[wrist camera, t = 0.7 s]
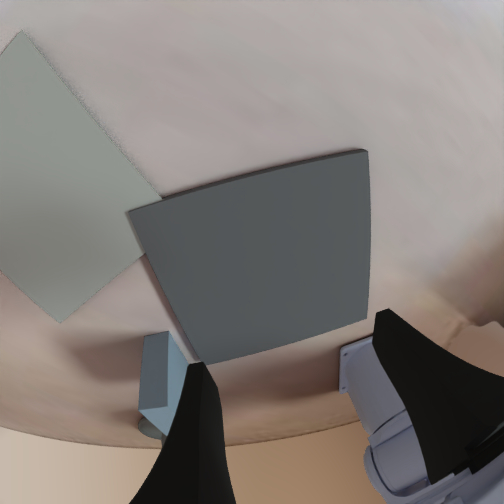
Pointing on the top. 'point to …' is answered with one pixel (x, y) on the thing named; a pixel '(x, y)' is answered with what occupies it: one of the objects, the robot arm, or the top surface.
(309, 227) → the mat
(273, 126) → the top surface
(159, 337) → the blue-grey rectangular block
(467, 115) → the top surface
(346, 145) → the top surface
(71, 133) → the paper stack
